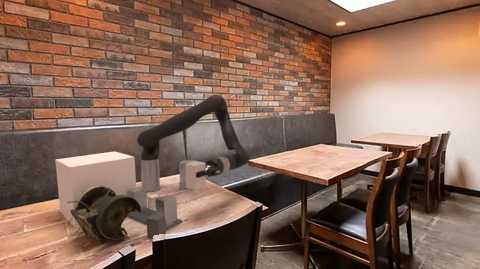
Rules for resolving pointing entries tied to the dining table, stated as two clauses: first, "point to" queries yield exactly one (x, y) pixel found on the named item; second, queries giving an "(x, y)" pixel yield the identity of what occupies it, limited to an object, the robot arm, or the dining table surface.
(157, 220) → the relay
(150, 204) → the beige rectangular block
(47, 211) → the dining table surface
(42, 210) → the dining table surface
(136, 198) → the rail
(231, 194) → the dining table surface
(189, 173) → the block
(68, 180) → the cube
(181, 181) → the circuit breaker
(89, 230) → the bench grinder
